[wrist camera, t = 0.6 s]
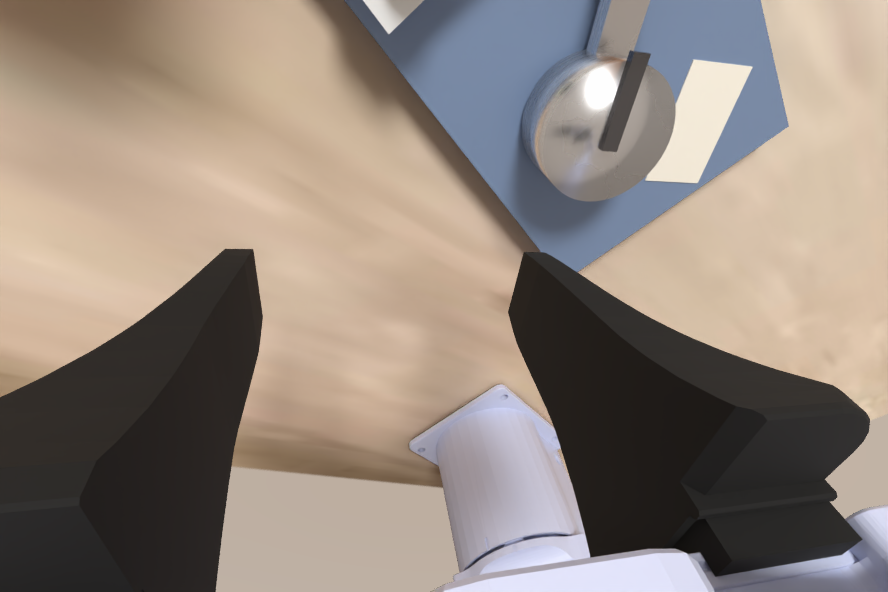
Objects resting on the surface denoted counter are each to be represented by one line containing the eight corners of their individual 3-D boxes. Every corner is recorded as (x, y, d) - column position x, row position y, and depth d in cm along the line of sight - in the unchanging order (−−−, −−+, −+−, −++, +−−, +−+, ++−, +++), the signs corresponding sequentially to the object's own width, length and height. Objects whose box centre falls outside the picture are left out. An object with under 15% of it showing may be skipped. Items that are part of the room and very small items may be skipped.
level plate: (768, 118, 22) (844, 148, 18) (555, 268, 25) (587, 316, 21) (625, -452, 11) (739, -609, 8) (290, -72, 14) (276, -77, 11)
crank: (615, 180, 20) (672, 227, 17) (510, 174, 19) (547, 224, 16) (708, -78, 15) (818, -86, 12) (570, -106, 14) (646, -124, 11)
